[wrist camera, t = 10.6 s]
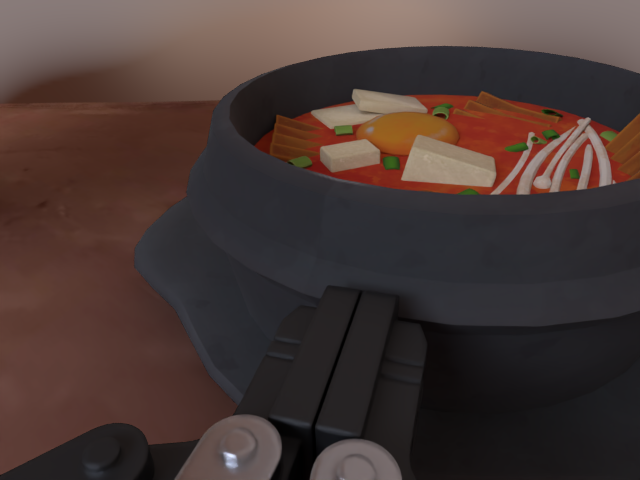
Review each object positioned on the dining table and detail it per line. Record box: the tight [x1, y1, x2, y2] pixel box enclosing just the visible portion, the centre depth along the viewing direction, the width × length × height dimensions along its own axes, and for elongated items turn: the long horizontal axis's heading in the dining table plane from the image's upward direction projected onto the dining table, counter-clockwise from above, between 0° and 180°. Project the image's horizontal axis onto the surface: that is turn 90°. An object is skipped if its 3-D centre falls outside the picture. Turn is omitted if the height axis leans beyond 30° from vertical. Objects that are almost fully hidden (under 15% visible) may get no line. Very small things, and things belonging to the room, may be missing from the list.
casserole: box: [134, 46, 640, 480], centre depth 19 cm, size 25×19×8 cm
